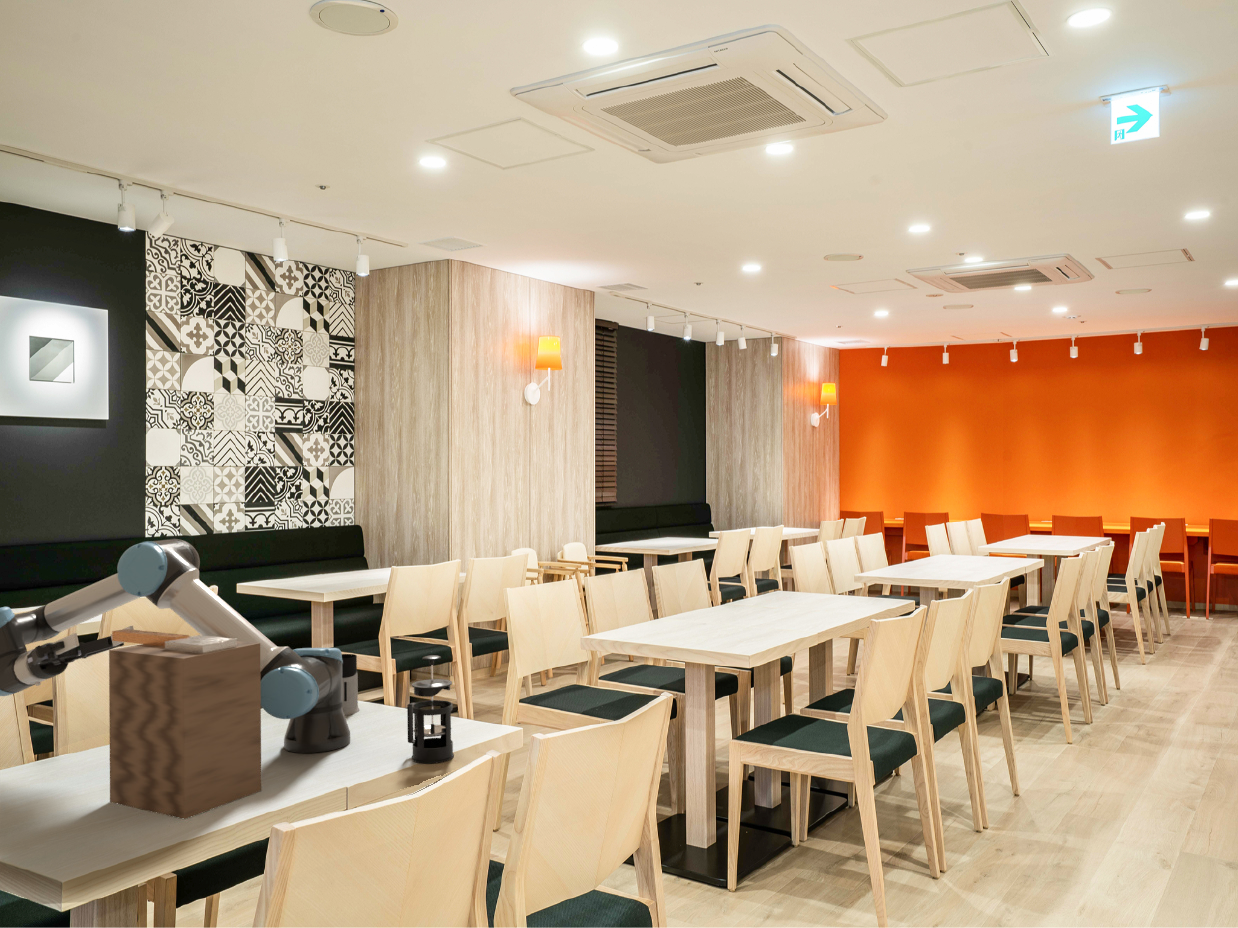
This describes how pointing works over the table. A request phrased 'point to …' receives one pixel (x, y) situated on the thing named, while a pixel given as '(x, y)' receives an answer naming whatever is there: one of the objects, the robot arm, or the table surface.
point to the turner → (175, 641)
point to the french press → (432, 747)
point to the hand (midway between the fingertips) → (105, 635)
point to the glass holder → (349, 684)
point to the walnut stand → (184, 727)
